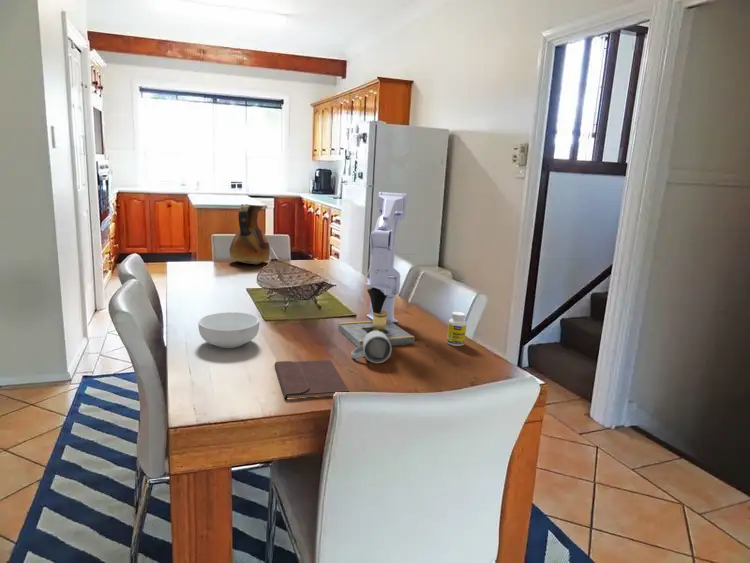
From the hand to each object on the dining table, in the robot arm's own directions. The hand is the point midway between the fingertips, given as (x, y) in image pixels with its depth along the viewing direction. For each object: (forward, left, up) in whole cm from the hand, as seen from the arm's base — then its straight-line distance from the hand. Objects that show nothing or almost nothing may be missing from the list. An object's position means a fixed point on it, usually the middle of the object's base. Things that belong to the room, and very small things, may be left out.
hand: (376, 312), depth 162 cm
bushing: (0, +1, -8) cm, 8 cm away
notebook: (+27, -29, -9) cm, 41 cm away
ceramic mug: (+17, -9, -8) cm, 21 cm away
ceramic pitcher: (-122, -16, -8) cm, 123 cm away
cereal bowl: (-4, -44, -8) cm, 45 cm away
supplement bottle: (+12, +22, -8) cm, 26 cm away
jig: (0, 0, -8) cm, 8 cm away
